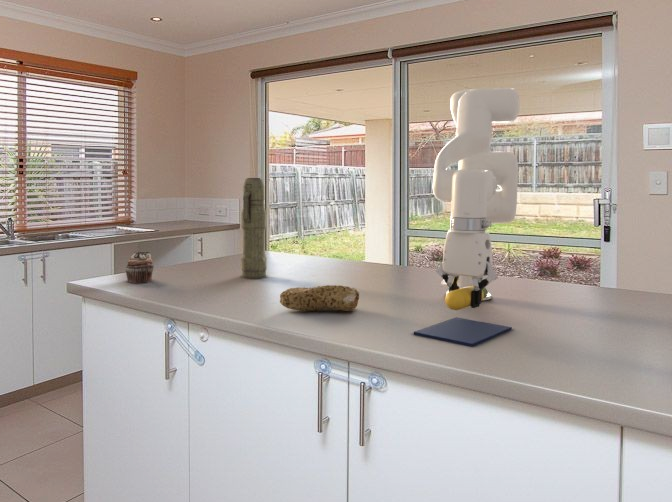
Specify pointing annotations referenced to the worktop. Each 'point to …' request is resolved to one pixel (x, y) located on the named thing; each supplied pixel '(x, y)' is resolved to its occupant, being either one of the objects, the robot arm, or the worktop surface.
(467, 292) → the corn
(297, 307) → the sponge
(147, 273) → the cupcake
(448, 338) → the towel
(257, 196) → the thermos
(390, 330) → the worktop surface
